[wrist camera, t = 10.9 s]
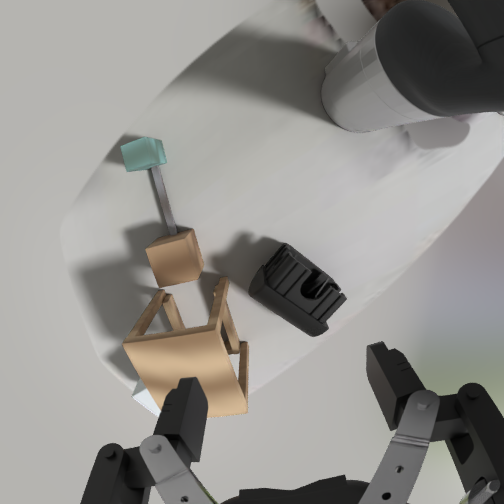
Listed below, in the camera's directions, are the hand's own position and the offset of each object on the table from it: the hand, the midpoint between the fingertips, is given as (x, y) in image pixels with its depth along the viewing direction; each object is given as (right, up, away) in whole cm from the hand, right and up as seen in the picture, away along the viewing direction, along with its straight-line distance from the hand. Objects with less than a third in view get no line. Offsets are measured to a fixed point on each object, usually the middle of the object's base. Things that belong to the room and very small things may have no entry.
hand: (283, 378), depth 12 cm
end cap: (+4, +2, +26) cm, 27 cm away
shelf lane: (-8, -4, +28) cm, 29 cm away
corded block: (-12, +11, +23) cm, 28 cm away
